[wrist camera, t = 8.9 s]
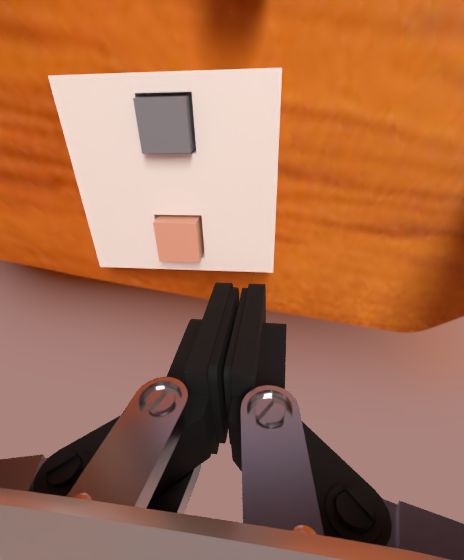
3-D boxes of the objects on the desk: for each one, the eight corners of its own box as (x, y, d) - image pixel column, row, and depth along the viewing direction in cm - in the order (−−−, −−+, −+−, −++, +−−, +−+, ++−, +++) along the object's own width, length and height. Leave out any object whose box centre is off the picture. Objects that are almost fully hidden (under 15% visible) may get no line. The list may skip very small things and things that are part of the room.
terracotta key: (201, 212, 35) (196, 223, 33) (204, 249, 38) (199, 262, 35) (161, 212, 36) (152, 222, 33) (167, 248, 38) (159, 261, 36)
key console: (281, 67, 30) (282, 67, 27) (273, 255, 40) (273, 272, 37) (71, 74, 32) (47, 75, 29) (114, 251, 42) (100, 266, 39)
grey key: (192, 94, 30) (184, 96, 27) (196, 146, 32) (189, 153, 30) (144, 95, 30) (133, 98, 28) (152, 147, 33) (142, 153, 30)
